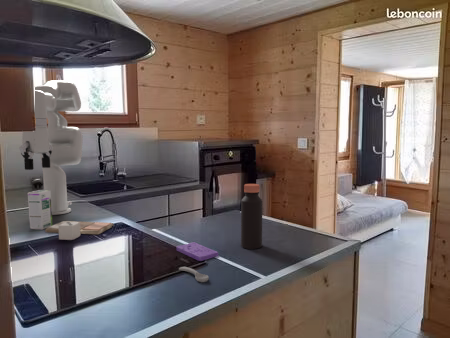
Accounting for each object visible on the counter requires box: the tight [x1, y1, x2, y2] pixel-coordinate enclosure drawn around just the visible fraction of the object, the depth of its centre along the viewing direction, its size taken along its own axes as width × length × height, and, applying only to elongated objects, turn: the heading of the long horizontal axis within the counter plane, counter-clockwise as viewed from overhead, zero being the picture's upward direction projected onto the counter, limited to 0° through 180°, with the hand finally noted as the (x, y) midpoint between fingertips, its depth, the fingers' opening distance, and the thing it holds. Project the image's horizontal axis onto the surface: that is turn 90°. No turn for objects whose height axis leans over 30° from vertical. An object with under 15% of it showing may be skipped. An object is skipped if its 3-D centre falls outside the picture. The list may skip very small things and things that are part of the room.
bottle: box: [240, 183, 263, 250], centre depth 113 cm, size 7×7×20 cm
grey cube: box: [58, 221, 81, 241], centre depth 124 cm, size 5×5×5 cm
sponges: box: [175, 241, 219, 262], centre depth 108 cm, size 7×13×2 cm, turn 40°
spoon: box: [178, 266, 209, 283], centre depth 91 cm, size 3×12×2 cm, turn 38°
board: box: [44, 220, 114, 235], centre depth 136 cm, size 12×21×2 cm, turn 82°
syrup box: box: [27, 189, 54, 231], centre depth 137 cm, size 6×6×14 cm
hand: (38, 168), depth 136 cm, fingers open, 9 cm apart
